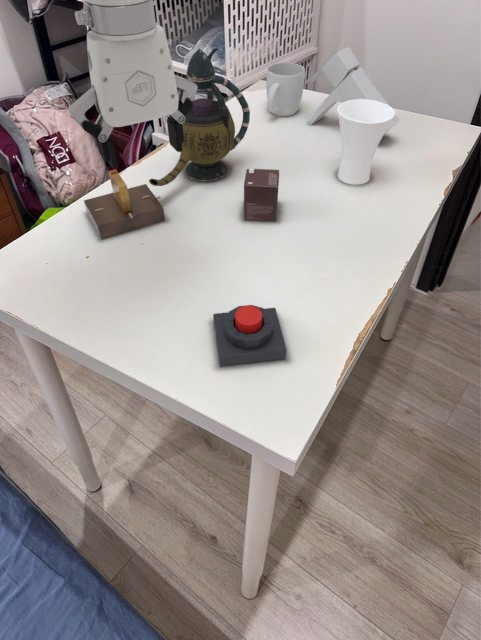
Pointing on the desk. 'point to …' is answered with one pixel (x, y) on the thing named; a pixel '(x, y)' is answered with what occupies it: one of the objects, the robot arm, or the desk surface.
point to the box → (261, 195)
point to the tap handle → (120, 190)
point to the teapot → (207, 126)
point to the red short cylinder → (248, 319)
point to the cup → (361, 137)
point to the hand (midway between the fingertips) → (145, 156)
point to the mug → (284, 88)
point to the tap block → (113, 218)
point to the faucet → (347, 84)
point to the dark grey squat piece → (248, 339)
